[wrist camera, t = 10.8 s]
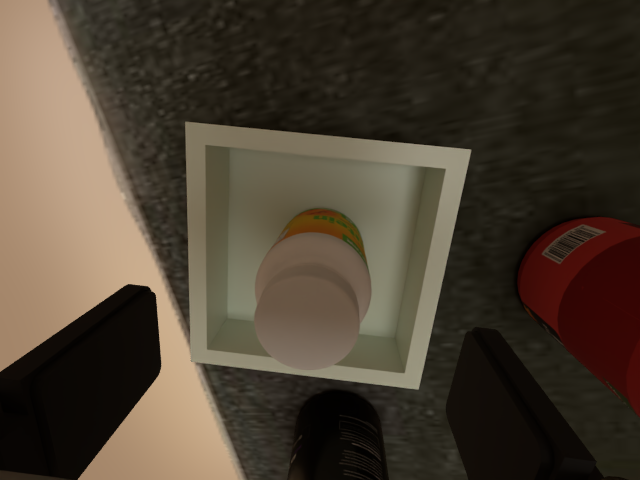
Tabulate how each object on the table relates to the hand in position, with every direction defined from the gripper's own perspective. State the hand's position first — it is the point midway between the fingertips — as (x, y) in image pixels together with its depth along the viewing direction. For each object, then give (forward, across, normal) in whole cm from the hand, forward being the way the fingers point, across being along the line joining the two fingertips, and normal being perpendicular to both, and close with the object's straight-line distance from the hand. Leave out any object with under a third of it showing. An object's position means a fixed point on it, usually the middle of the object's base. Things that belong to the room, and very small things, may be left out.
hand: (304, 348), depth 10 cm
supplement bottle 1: (+12, 0, +1) cm, 12 cm away
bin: (+13, 0, +1) cm, 13 cm away
